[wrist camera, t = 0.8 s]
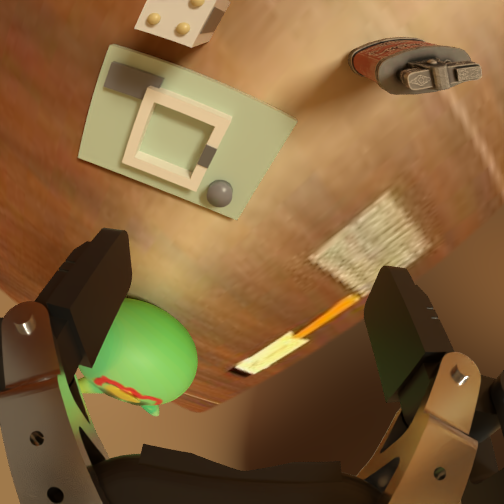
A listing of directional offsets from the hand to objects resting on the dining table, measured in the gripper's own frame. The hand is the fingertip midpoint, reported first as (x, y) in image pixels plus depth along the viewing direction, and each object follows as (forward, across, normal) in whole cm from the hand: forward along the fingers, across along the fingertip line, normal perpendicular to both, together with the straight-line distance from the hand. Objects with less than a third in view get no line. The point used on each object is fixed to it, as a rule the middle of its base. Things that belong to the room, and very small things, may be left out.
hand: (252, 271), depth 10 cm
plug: (+20, +7, -10) cm, 23 cm away
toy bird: (+24, +14, +29) cm, 41 cm away
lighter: (+21, -10, -10) cm, 25 cm away
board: (+21, +8, +1) cm, 22 cm away
